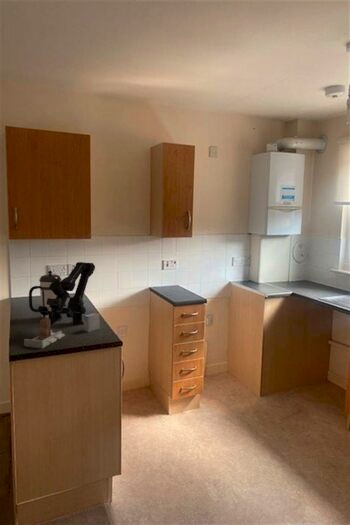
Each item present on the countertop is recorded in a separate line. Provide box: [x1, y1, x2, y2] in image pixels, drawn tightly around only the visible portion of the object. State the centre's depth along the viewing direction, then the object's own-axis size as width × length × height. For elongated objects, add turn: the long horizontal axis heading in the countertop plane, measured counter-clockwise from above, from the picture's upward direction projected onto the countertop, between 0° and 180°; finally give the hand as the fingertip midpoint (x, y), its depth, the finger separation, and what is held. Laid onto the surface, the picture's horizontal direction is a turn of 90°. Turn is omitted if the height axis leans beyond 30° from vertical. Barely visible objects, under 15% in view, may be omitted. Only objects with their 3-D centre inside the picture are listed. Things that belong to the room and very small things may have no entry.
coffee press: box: [28, 270, 63, 321], centre depth 231 cm, size 17×16×30 cm
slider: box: [38, 318, 52, 340], centre depth 193 cm, size 4×4×10 cm
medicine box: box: [83, 312, 101, 333], centre depth 212 cm, size 8×4×9 cm, turn 141°
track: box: [23, 329, 65, 349], centre depth 194 cm, size 20×10×4 cm, turn 165°
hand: (49, 325), depth 197 cm, fingers closed
